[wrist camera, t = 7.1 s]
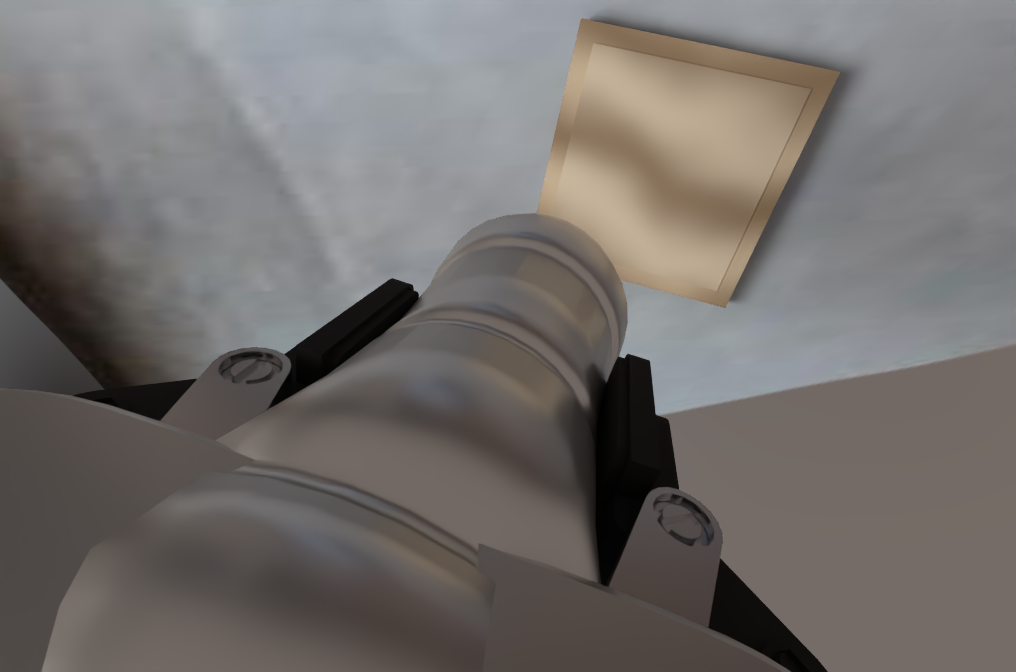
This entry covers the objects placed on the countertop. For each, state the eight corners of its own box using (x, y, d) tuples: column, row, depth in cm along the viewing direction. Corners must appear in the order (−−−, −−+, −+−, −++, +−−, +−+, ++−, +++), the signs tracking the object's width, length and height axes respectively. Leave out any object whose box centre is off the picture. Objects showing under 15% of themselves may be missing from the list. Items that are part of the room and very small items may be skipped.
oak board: (582, 22, 26) (581, 18, 25) (831, 73, 24) (841, 71, 23) (530, 250, 32) (527, 255, 31) (721, 301, 31) (725, 308, 30)
